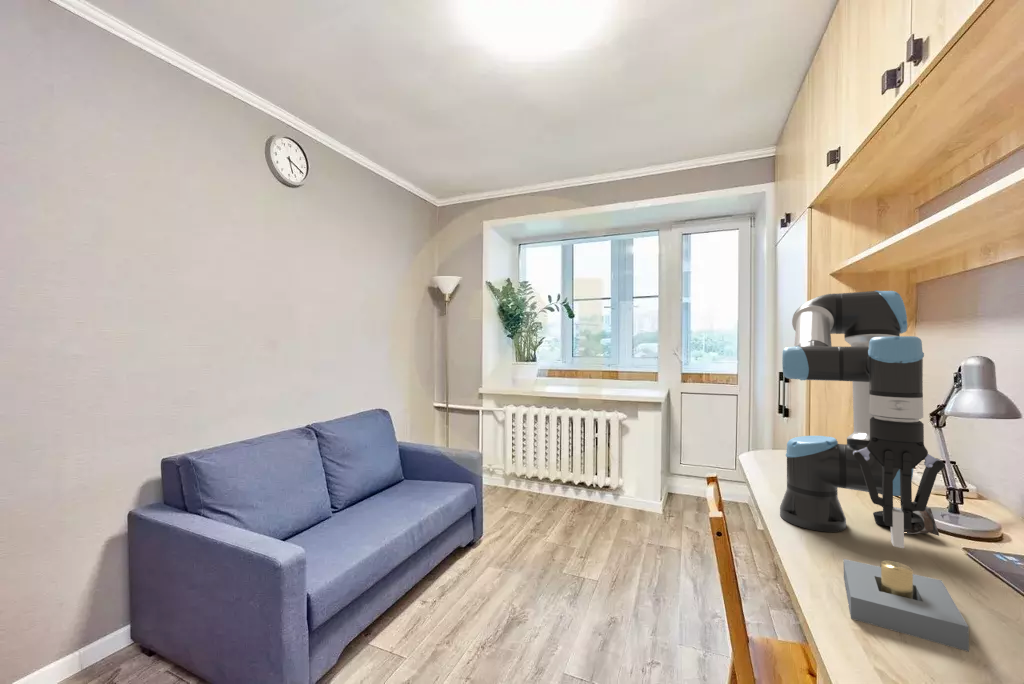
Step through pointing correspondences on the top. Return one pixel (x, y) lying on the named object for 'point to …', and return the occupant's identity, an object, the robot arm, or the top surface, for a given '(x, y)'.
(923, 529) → the caster wheel
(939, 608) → the jig
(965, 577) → the top surface
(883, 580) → the gold metal cylinder
